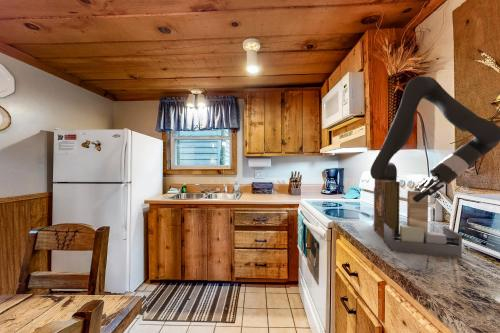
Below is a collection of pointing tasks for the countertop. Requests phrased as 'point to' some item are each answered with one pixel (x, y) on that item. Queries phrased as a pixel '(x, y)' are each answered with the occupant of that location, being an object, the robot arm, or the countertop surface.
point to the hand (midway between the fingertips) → (412, 199)
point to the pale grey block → (434, 238)
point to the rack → (425, 244)
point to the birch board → (417, 211)
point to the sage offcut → (411, 234)
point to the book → (386, 205)
